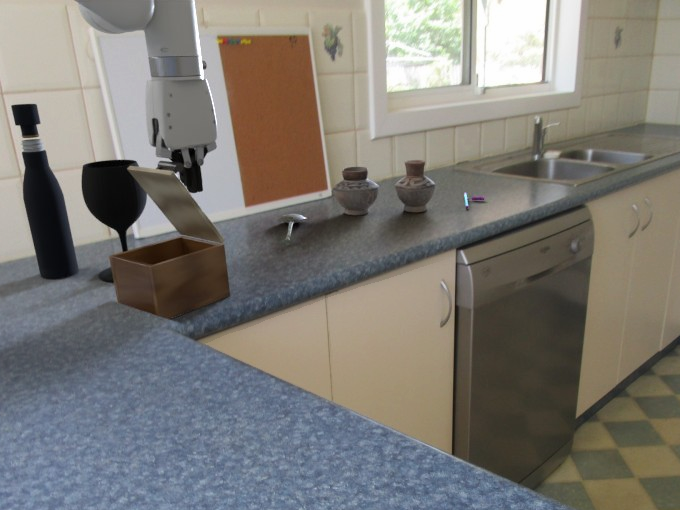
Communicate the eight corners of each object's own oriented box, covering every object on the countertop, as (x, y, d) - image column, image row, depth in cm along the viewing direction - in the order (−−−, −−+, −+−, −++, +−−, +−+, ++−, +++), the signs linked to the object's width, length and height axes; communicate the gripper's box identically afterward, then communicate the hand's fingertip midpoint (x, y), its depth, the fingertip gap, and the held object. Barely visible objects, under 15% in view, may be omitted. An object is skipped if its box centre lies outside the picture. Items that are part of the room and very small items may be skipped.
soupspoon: (308, 223, 156) (280, 225, 156) (306, 209, 155) (278, 211, 155) (302, 245, 136) (270, 248, 135) (300, 229, 134) (268, 232, 134)
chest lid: (170, 174, 95) (188, 155, 97) (126, 168, 101) (144, 150, 103) (222, 243, 106) (237, 224, 108) (180, 234, 111) (195, 217, 113)
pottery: (439, 214, 159) (439, 164, 155) (334, 219, 156) (331, 168, 152) (431, 204, 169) (431, 156, 165) (333, 208, 167) (330, 161, 163)
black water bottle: (53, 281, 118) (15, 106, 107) (33, 275, 121) (-6, 105, 111) (86, 271, 123) (52, 103, 112) (66, 266, 126) (32, 102, 116)
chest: (160, 323, 99) (151, 267, 96) (118, 309, 105) (108, 255, 101) (230, 295, 109) (224, 244, 106) (189, 284, 115) (182, 235, 112)
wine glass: (128, 285, 115) (107, 170, 108) (85, 278, 119) (63, 166, 112) (171, 268, 124) (155, 160, 117) (130, 262, 128) (112, 157, 121)
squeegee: (486, 205, 163) (466, 205, 163) (486, 208, 163) (466, 208, 164) (482, 192, 177) (464, 192, 177) (482, 195, 177) (464, 195, 178)
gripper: (200, 67, 107) (213, 181, 113) (117, 71, 95) (137, 197, 102) (232, 67, 103) (244, 185, 109) (149, 71, 91) (168, 203, 98)
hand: (192, 191), depth 106 cm, fingers closed
